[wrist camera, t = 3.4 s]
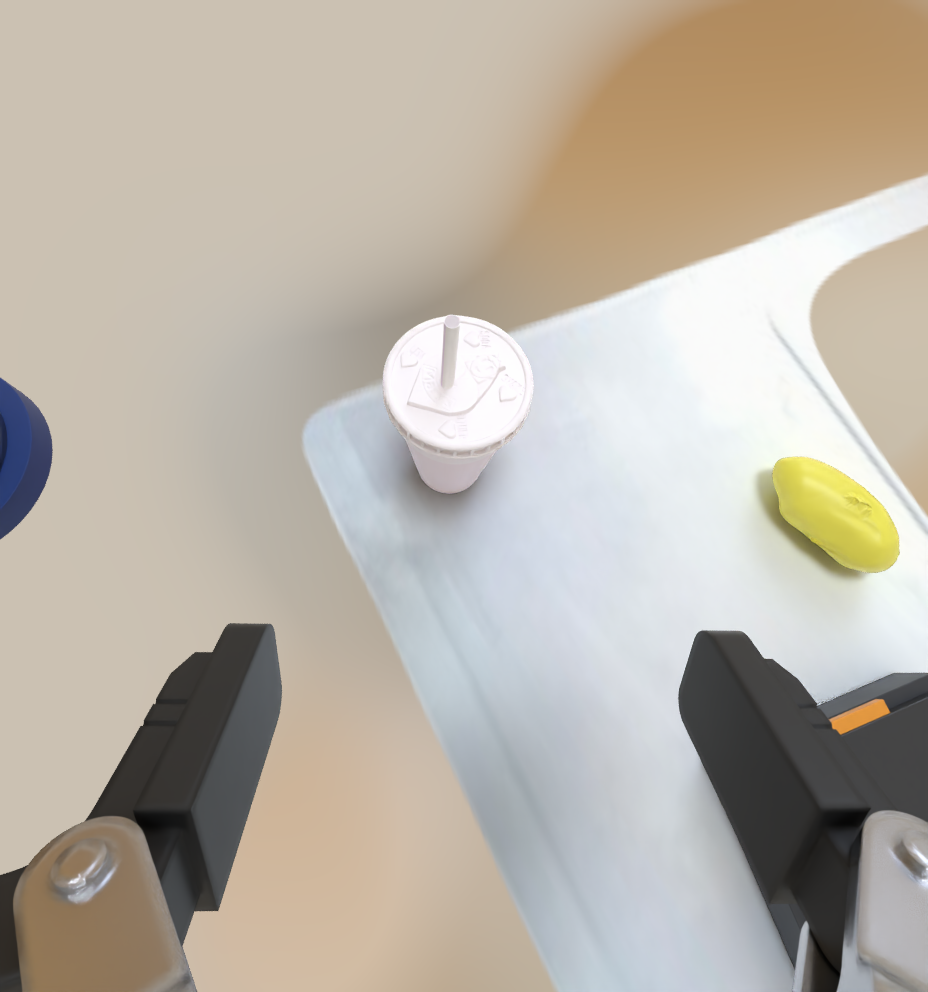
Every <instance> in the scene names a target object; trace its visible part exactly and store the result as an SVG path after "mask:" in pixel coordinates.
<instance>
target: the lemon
mask: <svg viewBox="0 0 928 992" xmlns="http://www.w3.org/2000/svg"><path fill="white" fill-rule="evenodd" d="M772 478H773V483H774V486H775V489H776V492H777V495H778V498H779V510H780V513H781V515H782V516H783V517H784V519H785V520H786V521H787V522H788V523H790V524H791V525H792V526H793V527H795V528H796V529H797V530H799V531H801V532H802V533H803V534H804V535H806V536H807V537H808V538H809V539H810V540H811V541H812V542H814V543H815V544H817V545H818V546H819V547H821V548H822V549H823V550H824V551H825V552H827V553H828V554H829V555H830V556H831V557H832V558H833V559H834V560H836V561H837V562H838V563H840V564H841V565H843V566H844V567H846V568H849V569H853V570H857V571H861V572H867V573H878V572H882V571H885V570H887V569H889V568H890V567H891V566H892V565H893V564H894V563H895V562H896V560H897V557H898V555H899V553H900V552H899V537H898V533H897V530H896V527H895V525H894V523H893V521H892V520H891V518H890V516H889V514H888V512H887V511H886V509H885V508H884V507H883V505H882V504H881V503H880V502H879V501H878V500H877V499H876V498H875V497H874V496H872V495H871V494H870V493H869V492H868V491H867V490H866V489H865V488H864V487H862V486H861V485H860V484H858V483H857V482H855V481H854V480H852V479H851V478H850V477H848V476H847V475H845V474H844V473H842V472H840V471H839V470H837V469H835V468H834V467H832V466H830V465H827V464H825V463H823V462H820V461H818V460H815V459H812V458H808V457H787V458H782V459H780V460H778V461H777V462H776V464H775V466H774V468H773V473H772Z"/></svg>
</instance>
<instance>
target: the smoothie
mask: <svg viewBox="0 0 928 992" xmlns="http://www.w3.org/2000/svg"><path fill="white" fill-rule="evenodd" d="M383 395H384V405H385V407H386V410H387V412H388V415H389V418H390V420H391V422H392V423H393V424H394V426H395V427H396V428H397V430H398V431H399V432H400V434H401V435H402V436H403V437H404V438H405V440H406V442H407V445H408V447H409V450H410V452H411V455H412V457H413V460H414V462H415V465H416V467H417V470H418V472H419V475H420V477H421V478H422V480H423V481H424V482H425V484H426V485H428V486H429V487H430V488H432V489H433V490H435V491H438V492H441V493H446V494H453V493H458V492H461V491H464V490H466V489H467V488H469V487H470V486H471V485H472V484H473V483H474V482H475V481H476V479H477V478H478V477H479V475H480V474H481V472H482V471H483V470H484V468H485V467H486V465H487V464H488V462H489V461H490V460H491V458H492V457H493V455H494V454H495V452H496V451H497V450H498V449H499V448H501V447H502V446H504V445H505V444H507V443H508V442H510V441H511V440H512V439H513V437H514V436H515V435H516V434H517V433H518V432H519V430H520V429H521V428H522V427H523V425H524V422H525V420H526V418H527V416H528V413H529V411H530V405H531V401H532V396H533V375H532V370H531V367H530V364H529V361H528V359H527V357H526V355H525V353H524V352H523V350H522V349H521V347H520V346H519V345H518V344H517V342H516V341H515V340H514V339H513V338H512V337H511V336H510V335H508V334H507V333H506V332H505V331H503V330H501V329H500V328H498V327H497V326H495V325H493V324H491V323H488V322H486V321H483V320H480V319H476V318H472V317H466V316H456V315H448V316H445V317H440V318H435V319H431V320H428V321H426V322H423V323H421V324H419V325H417V326H415V327H414V328H412V329H411V330H409V331H408V332H407V333H406V334H404V335H403V336H402V337H401V338H400V339H399V340H398V341H397V343H396V344H395V345H394V347H393V348H392V350H391V352H390V353H389V356H388V358H387V360H386V363H385V367H384V372H383Z"/></svg>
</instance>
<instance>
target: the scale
mask: <svg viewBox="0 0 928 992" xmlns="http://www.w3.org/2000/svg"><path fill="white" fill-rule="evenodd" d="M817 708H818V709H821V710H822V711H823V713H824V714H825V715H826V717H827V718H828V719H829V720H830V722H831V723H832V728H833V729H836V730H837V731H838V732H839V734H840V735H841V736H842V738H843V739H844V740H845V741H846V743H847V744H848V745H849V747H850V748H851V749H852V751H853V752H854V753H855V755H856V756H857V757H858V759H859V760H860V761H861V763H862V764H863V765H864V766H865V768H866V769H867V770H868V772H869V773H870V774H871V776H872V777H873V778H874V780H875V781H876V782H877V784H878V785H879V786H880V788H881V789H882V790H883V791H884V793H885V794H886V795H887V797H888V798H889V799H890V801H891V802H892V803H893V805H894V806H895V807H896V808H897V810H898V811H899V812H903V813H907V814H910V815H913V816H915V817H917V818H920V819H922V820H924V821H926V822H928V673H894V674H891V675H889V676H887V677H884V678H882V679H880V680H877V681H875V682H873V683H870V684H868V685H866V686H863V687H861V688H859V689H856V690H854V691H852V692H849V693H847V694H845V695H842V696H840V697H838V698H835V699H833V700H831V701H829V702H826V703H824V704H822V705H819V706H817ZM744 853H745V852H744ZM745 855H746V854H745ZM746 857H747V856H746ZM747 859H748V858H747ZM748 862H749V861H748ZM749 864H750V863H749ZM750 866H751V865H750ZM751 869H752V867H751ZM752 871H753V869H752ZM753 873H754V871H753ZM754 876H755V878H756V880H757V882H758V879H757V877H756V875H755V873H754ZM758 885H759V887H760V889H761V892H762V894H763V896H764V899H765V901H766V903H767V905H768V908H769V910H770V912H771V915H772V917H773V919H774V922H775V924H776V926H777V928H778V931H779V933H780V935H781V938H782V940H783V942H784V945H785V947H786V949H787V951H788V954H789V956H790V958H791V961H792V963H793V965H794V967H795V968H796V961H797V954H798V947H799V939H800V933H801V929H802V927H803V925H804V923H805V921H806V919H805V917H804V915H803V913H802V911H801V909H800V907H799V905H798V904H769V903H768V901H767V898H766V896H765V894H764V892H763V890H762V888H761V886H760V884H759V882H758Z"/></svg>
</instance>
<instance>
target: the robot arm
mask: <svg viewBox="0 0 928 992" xmlns="http://www.w3.org/2000/svg"><path fill="white" fill-rule="evenodd" d="M6 448H7V431H6V426H5V423H4V420H3V417H2V415H1V413H0V469H1V467H2V464H3V462H4V458H5V454H6ZM281 696H282V685H281V677H280V669H279V662H278V654H277V646H276V639H275V632H274V628H273V626H272V625H271V624H235V623H233V624H231V623H230V624H228V625H227V626H226V627H225V629H224V631H223V632H222V634H221V637H220V639H219V640H218V642H217V644H216V646H215V648H214V650H213V652H195V653H194V654H192V655H191V656H190V657H189V658H188V659H187V660H186V661H185V662H183V663H182V664H181V665H180V666H179V667H178V668H177V669H175V670H174V671H173V672H172V673H171V674H170V676H169V677H168V679H167V681H166V683H165V684H164V686H163V688H162V690H161V692H160V693H159V695H158V697H157V699H156V704H153V706H152V707H151V709H150V711H149V712H148V714H147V716H146V718H145V720H144V725H143V726H140V728H139V730H138V732H137V733H136V735H135V737H134V739H133V740H132V742H131V744H130V746H129V747H128V749H127V751H126V753H125V754H124V756H123V758H122V759H121V761H120V763H119V765H118V766H117V768H116V770H115V772H114V774H113V775H112V777H111V779H110V781H109V782H108V784H107V786H106V787H105V789H104V791H103V793H102V795H101V796H100V798H99V800H98V802H97V803H96V805H95V807H94V808H93V810H92V812H91V813H90V815H89V816H88V818H87V819H86V820H85V821H84V822H82V823H80V824H78V825H75V826H74V827H72V828H70V829H68V830H66V831H64V832H63V833H61V834H60V835H58V836H57V837H56V838H54V839H53V840H52V841H51V842H50V843H48V844H47V845H46V846H45V847H44V848H42V849H41V850H40V852H39V853H38V854H37V855H36V856H35V857H34V858H33V859H32V861H31V862H30V863H29V865H27V866H25V867H23V868H20V869H17V870H15V871H12V872H9V873H6V874H3V875H0V992H197V990H196V987H195V984H194V980H193V977H192V974H191V971H190V968H189V965H188V962H187V959H186V956H185V953H184V950H183V947H182V945H183V943H184V940H185V937H186V934H187V931H188V928H189V925H190V922H191V919H192V916H193V913H194V911H218V910H219V907H220V904H221V900H222V897H223V894H224V891H225V887H226V884H227V881H228V878H229V875H230V872H231V868H232V865H233V862H234V859H235V856H236V852H237V849H238V846H239V843H240V840H241V836H242V833H243V830H244V827H245V824H246V820H247V817H248V814H249V811H250V807H251V804H252V801H253V798H254V795H255V792H256V788H257V785H258V782H259V779H260V776H261V772H262V769H263V766H264V763H265V760H266V756H267V753H268V750H269V747H270V743H271V740H272V737H273V734H274V731H275V727H276V724H277V721H278V717H279V713H280V706H281V698H282V697H281ZM678 700H679V710H680V714H681V718H682V721H683V723H684V725H685V728H686V730H687V732H688V734H689V736H690V738H691V740H692V742H693V744H694V747H695V749H696V751H697V753H698V755H699V757H700V759H701V761H702V763H703V766H704V768H705V770H706V772H707V774H708V776H709V778H710V780H711V782H712V785H713V787H714V789H715V791H716V793H717V795H718V797H719V799H720V801H721V804H722V806H723V808H724V810H725V812H726V814H727V816H728V818H729V820H730V823H731V825H732V827H733V829H734V831H735V833H736V835H737V837H738V839H739V842H740V844H741V846H742V848H743V850H744V852H745V854H746V856H747V858H748V861H749V863H750V865H751V867H752V869H753V871H754V873H755V875H756V877H757V879H758V882H759V884H760V886H761V888H762V890H763V892H764V894H765V896H766V898H767V901H768V903H769V904H798V905H799V907H800V909H801V911H802V913H803V915H804V917H805V919H806V921H805V923H804V925H803V927H802V929H801V933H800V939H799V947H798V954H797V961H796V968H795V976H794V983H793V990H792V992H928V822H926V821H924V820H922V819H920V818H917V817H915V816H913V815H910V814H907V813H903V812H899V811H898V810H897V808H896V807H895V806H894V805H893V803H892V802H891V801H890V799H889V798H888V797H887V795H886V794H885V793H884V791H883V790H882V789H881V788H880V786H879V785H878V784H877V782H876V781H875V780H874V778H873V777H872V776H871V774H870V773H869V772H868V770H867V769H866V768H865V766H864V765H863V764H862V763H861V761H860V760H859V759H858V757H857V756H856V755H855V753H854V752H853V751H852V749H851V748H850V747H849V745H848V744H847V743H846V741H845V740H844V739H843V738H842V736H841V735H840V734H839V732H838V731H837V730H836V729H833V728H832V723H831V722H830V720H829V719H828V718H827V717H826V715H825V714H824V713H823V711H822V710H821V709H818V708H817V703H816V702H815V701H814V699H813V698H812V697H811V695H810V694H809V693H808V692H807V690H806V689H805V688H804V686H803V685H802V684H801V682H800V681H799V680H798V679H797V678H796V677H794V676H793V675H792V674H791V673H789V672H788V671H787V670H785V669H784V668H783V667H782V666H780V665H779V664H778V663H777V662H775V661H774V660H773V659H764V658H763V657H762V655H761V654H760V652H759V651H758V650H757V648H756V647H755V646H754V644H753V643H752V641H751V640H750V639H749V637H748V636H747V635H746V634H745V633H743V632H741V631H700V632H698V633H697V635H696V637H695V639H694V642H693V645H692V649H691V652H690V655H689V658H688V662H687V665H686V668H685V671H684V675H683V678H682V681H681V685H680V688H679V697H678Z"/></svg>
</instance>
